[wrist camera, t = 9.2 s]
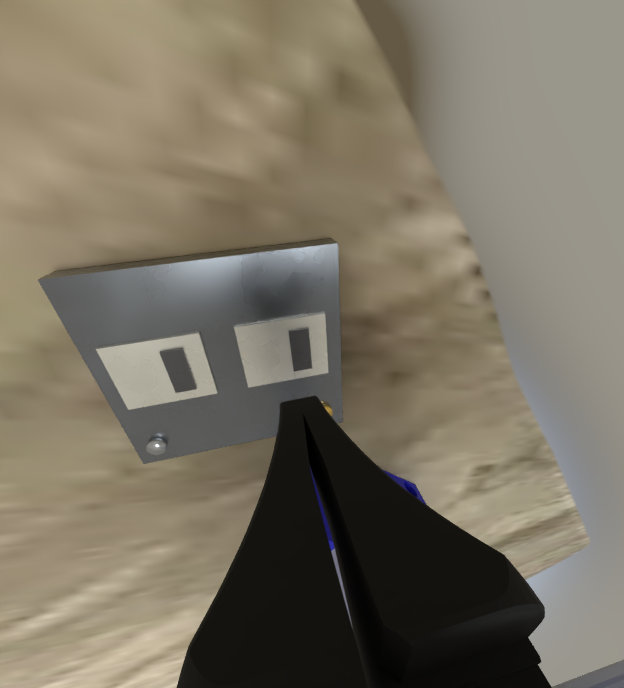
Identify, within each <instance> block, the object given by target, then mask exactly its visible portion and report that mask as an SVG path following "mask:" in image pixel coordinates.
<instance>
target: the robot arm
mask: <svg viewBox="0 0 624 688" xmlns="http://www.w3.org/2000/svg"><path fill="white" fill-rule="evenodd" d="M279 407H280V416H279V425H278V432H277V437H276V442H275V447H274V452H273V456H272V459H271V463H270V467H269V470H268V474H267V477H266V480H265V484H264V487H263V490H262V493H261V495H260V498H259V501H258V504H257V506H256V509H255V512H254V514H253V517H252V519H251V522H250V524H249V527H248V529H247V531H246V534H245V536H244V538H243V541H242V543H241V545H240V547H239V549H238V552H237V554H236V556H235V558H234V560H233V562H232V564H231V566H230V568H229V570H228V573H227V575H226V577H225V579H224V581H223V583H222V585H221V587H220V589H219V591H218V593H217V595H216V597H215V598H214V600H213V602H212V604H211V606H210V608H209V610H208V611H207V613H206V615H205V617H204V619H203V621H202V623H201V624H200V626H199V628H198V630H197V632H196V634H195V635H194V637H193V639H192V641H191V643H190V645H189V647H188V650H187V653H186V656H185V660H184V663H183V667H182V670H181V673H180V677H179V681H178V685H177V688H624V660H622V661H619V662H616V663H614V664H611V665H609V666H606V667H603V668H601V669H598V670H595V671H593V672H590V673H587V674H585V675H582V676H580V677H577V678H575V679H572V680H569V681H567V682H564V683H561V684H559V685H556V686H553V687H551V686H550V684H549V682H548V681H547V679H546V677H545V676H544V674H543V672H542V671H541V669H540V668H539V666H538V664H539V663H540V662H541V659H540V656H539V655H538V653H537V651H536V650H535V648H534V646H533V645H532V643H531V642H530V640H529V638H528V637H529V636H530V634H531V633H532V632H533V631H534V630H535V629H536V628H537V627H538V625H539V624H540V623H541V622H542V620H543V619H544V617H545V610H544V606H543V604H542V603H541V601H540V600H539V599H538V597H537V596H536V594H535V593H534V591H533V590H532V589H531V587H530V586H529V584H528V583H527V582H526V581H525V579H524V578H523V577H522V576H521V574H520V573H519V572H518V571H517V570H516V568H515V567H514V566H513V565H512V564H511V562H510V561H509V560H508V559H507V558H506V557H505V555H503V554H502V553H500V552H498V551H497V550H495V549H493V548H492V547H490V546H488V545H487V544H485V543H483V542H482V541H480V540H478V539H477V538H475V537H473V536H472V535H470V534H469V533H467V532H466V531H464V530H462V529H461V528H459V527H458V526H456V525H455V524H453V523H452V522H450V521H449V520H447V519H446V518H444V517H443V516H441V515H440V514H438V513H437V512H435V511H434V510H433V509H431V508H430V507H429V506H427V505H426V504H424V503H423V502H422V501H420V500H419V499H418V498H416V497H415V496H414V495H412V494H411V493H410V492H408V491H407V490H406V489H404V488H403V487H402V486H401V485H399V484H398V483H397V482H396V481H394V480H393V479H392V478H391V477H390V476H388V475H387V474H386V473H385V472H384V471H383V470H382V469H380V468H379V467H378V466H377V465H376V464H375V463H374V462H373V461H372V460H371V459H370V458H369V457H368V456H366V455H365V454H364V453H363V452H362V451H361V449H360V448H359V447H358V446H357V445H356V444H355V443H354V442H353V441H352V440H351V439H350V438H349V437H348V436H347V435H346V433H345V432H344V431H343V430H342V429H341V428H340V427H339V425H338V424H337V423H336V422H335V421H334V419H333V418H332V417H331V415H330V414H329V413H328V411H327V410H326V409H325V407H324V406H323V404H322V403H321V401H320V400H319V398H318V397H317V396H310V397H305V398H300V399H295V400H290V401H285V402H282V403H281V404H280V405H279ZM310 468H311V470H310ZM311 472H312V474H311ZM312 475H313V478H314V481H315V484H316V487H317V490H318V494H319V497H320V500H321V503H322V506H323V509H324V512H325V516H326V519H327V522H328V525H329V529H330V532H331V536H332V539H333V544H334V549H333V550H332V551H331V548H330V545H329V541H328V537H327V533H326V530H325V526H324V522H323V518H322V514H321V510H320V506H319V502H318V499H317V495H316V491H315V487H314V483H313V479H312Z"/></svg>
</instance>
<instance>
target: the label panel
mask: <svg viewBox="0 0 624 688" xmlns="http://www.w3.org/2000/svg"><path fill="white" fill-rule="evenodd" d="M38 281H39V283H40V285H41V286H42V288H43V290H44V292H45V293H46V295H47V297H48V299H49V300H50V302H51V304H52V305H53V307H54V309H55V311H56V312H57V314H58V316H59V318H60V319H61V321H62V323H63V325H64V326H65V328H66V330H67V332H68V333H69V335H70V337H71V338H72V340H73V342H74V344H75V345H76V347H77V349H78V351H79V352H80V354H81V356H82V358H83V359H84V361H85V363H86V365H87V366H88V368H89V370H90V372H91V373H92V375H93V377H94V378H95V380H96V382H97V384H98V385H99V387H100V389H101V391H102V392H103V394H104V396H105V398H106V399H107V401H108V403H109V405H110V406H111V408H112V410H113V412H114V413H115V415H116V417H117V418H118V420H119V422H120V424H121V425H122V427H123V429H124V431H125V432H126V434H127V436H128V438H129V439H130V441H131V443H132V445H133V446H134V448H135V450H136V451H137V453H138V455H139V457H140V458H141V460H142V462H143V464H146V463H151V462H156V461H160V460H165V459H170V458H175V457H179V456H184V455H189V454H193V453H198V452H203V451H208V450H212V449H217V448H222V447H227V446H231V445H236V444H241V443H246V442H250V441H255V440H260V439H265V438H269V437H274V436H277V432H278V425H279V416H280V407H279V405H280V404H281V403H282V402H285V401H290V400H295V399H300V398H305V397H310V396H317V397H318V398H319V400H320V401H321V403H322V404H323V406H324V407H325V409H326V410H327V411H328V413H329V414H330V415H331V417H332V418H333V419H334V421H335V422H336V423H341V422H343V411H342V374H341V336H340V299H339V262H338V243H337V242H336V241H334V240H333V239H331V238H330V239H321V240H313V241H305V242H296V243H288V244H279V245H271V246H263V247H254V248H246V249H237V250H229V251H220V252H212V253H204V254H195V255H187V256H178V257H170V258H162V259H153V260H145V261H136V262H128V263H120V264H111V265H103V266H94V267H86V268H78V269H69V270H61V271H54V272H52V273H50V274H48V275H46V276H44V277H42V278H40V279H38Z"/></svg>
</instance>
